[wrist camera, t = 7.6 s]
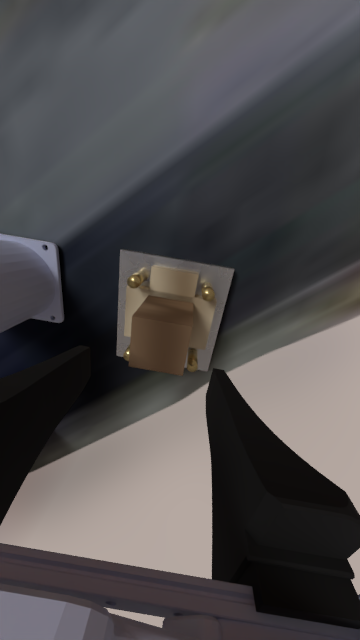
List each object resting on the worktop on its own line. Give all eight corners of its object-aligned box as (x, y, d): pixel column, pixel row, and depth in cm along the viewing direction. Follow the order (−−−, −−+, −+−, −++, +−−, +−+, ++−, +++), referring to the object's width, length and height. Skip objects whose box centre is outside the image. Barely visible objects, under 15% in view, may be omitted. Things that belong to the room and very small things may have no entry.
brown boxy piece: (126, 347, 21) (101, 387, 15) (131, 261, 17) (101, 272, 12) (200, 360, 21) (202, 405, 15) (220, 276, 17) (233, 295, 12)
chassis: (119, 350, 22) (107, 370, 19) (124, 248, 18) (108, 251, 15) (206, 365, 22) (208, 387, 19) (232, 267, 18) (240, 274, 15)
